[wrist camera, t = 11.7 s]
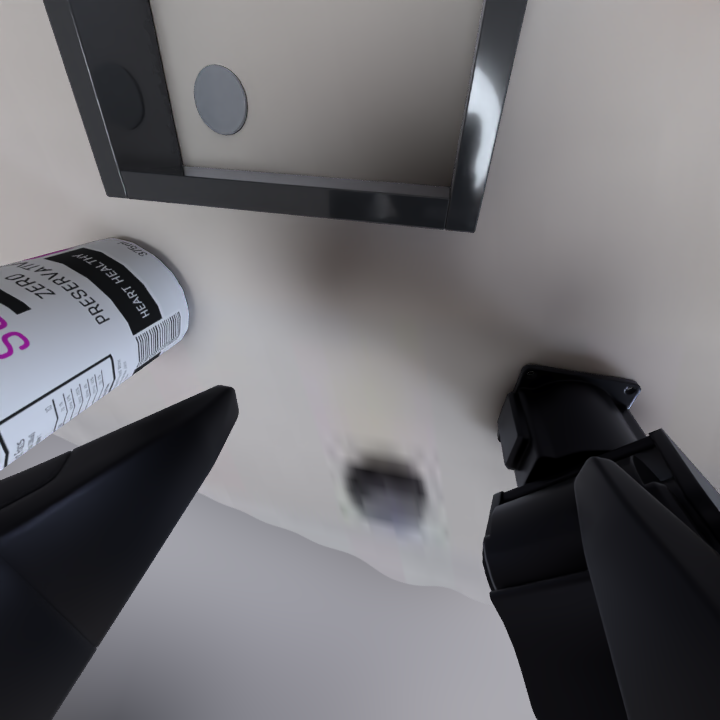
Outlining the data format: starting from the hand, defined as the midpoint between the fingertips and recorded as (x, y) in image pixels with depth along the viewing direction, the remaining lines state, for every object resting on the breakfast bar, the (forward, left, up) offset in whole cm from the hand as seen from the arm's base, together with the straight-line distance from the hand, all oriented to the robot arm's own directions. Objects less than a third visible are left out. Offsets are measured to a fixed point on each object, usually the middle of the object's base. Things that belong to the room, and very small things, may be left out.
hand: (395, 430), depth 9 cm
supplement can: (+20, +4, -13) cm, 24 cm away
